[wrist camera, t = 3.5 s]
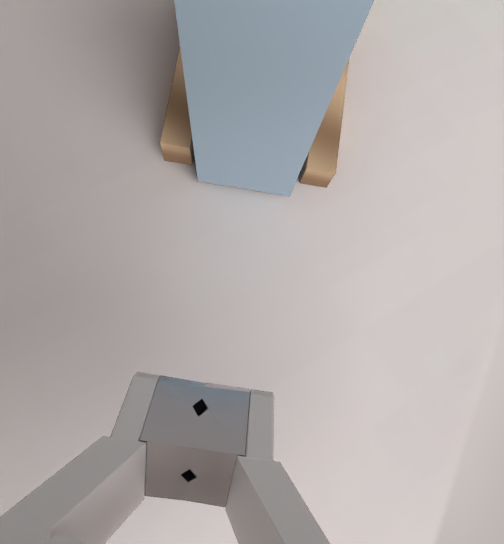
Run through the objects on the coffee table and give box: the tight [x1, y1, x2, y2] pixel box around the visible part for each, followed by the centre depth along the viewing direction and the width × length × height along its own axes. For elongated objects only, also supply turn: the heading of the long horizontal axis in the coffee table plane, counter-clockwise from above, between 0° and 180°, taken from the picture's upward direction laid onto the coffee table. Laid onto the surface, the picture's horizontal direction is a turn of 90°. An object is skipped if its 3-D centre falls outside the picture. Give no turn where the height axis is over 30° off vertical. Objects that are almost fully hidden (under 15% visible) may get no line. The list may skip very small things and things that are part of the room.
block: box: [174, 0, 374, 196], centre depth 17 cm, size 5×5×14 cm
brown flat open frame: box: [160, 48, 349, 187], centre depth 24 cm, size 18×9×3 cm, turn 172°
